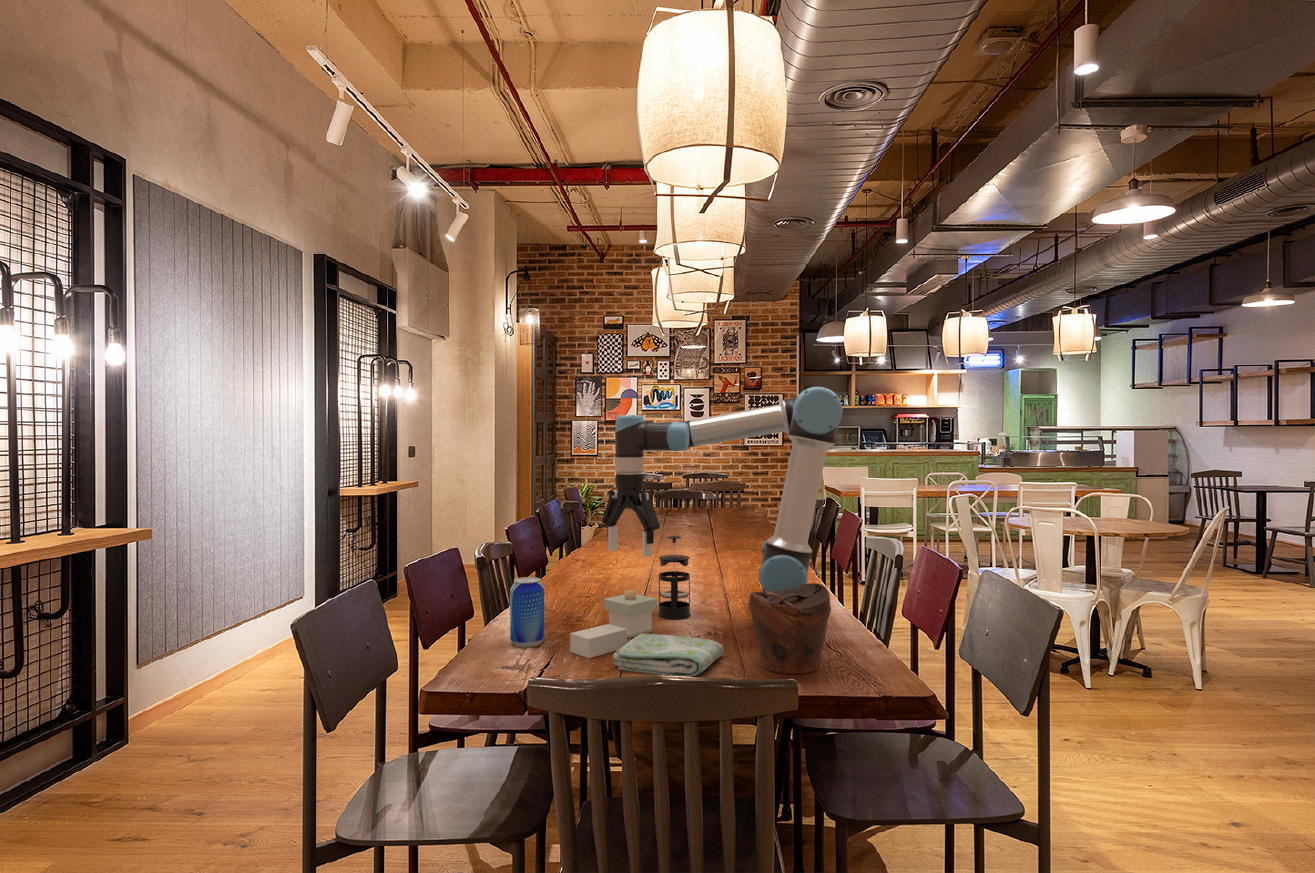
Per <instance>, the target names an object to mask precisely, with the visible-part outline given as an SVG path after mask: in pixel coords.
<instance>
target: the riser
mask: <svg viewBox="0 0 1315 873" xmlns="http://www.w3.org/2000/svg"><path fill="white" fill-rule="evenodd" d="M627 640H628V638H627V629H625V628H621V627H617V626H614V625H610V624H609V623H607V624H603V625H598V626H594V627H591V628H590V627H589V628H585V629H583V630H578V631H574V632H573V631H572V632H570V633H569V646H570V647H569V648H570V650H569V652H570V653H573V654H575V655H578V656H581V657H584V658H587V659H592V658H594V657H598V656H599V657H600V656H603V655H604V654H610V653H612V652H616V651H617V650H619V649H620V648H622V647H623V646H625V645H626V644H627V643H628V641H627Z"/></svg>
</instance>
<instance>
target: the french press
mask: <svg viewBox="0 0 1315 873" xmlns="http://www.w3.org/2000/svg"><path fill="white" fill-rule="evenodd" d="M666 538H667V539H669V540H670V539H671V540H672V541H671V542H672V544H673V554H668V555H667V554H665V555H661V556H660V555H659V556H658V559H659V561H660V562H659V563H660V564H659V565H660V566H661V567H665V566H666V565H667V564H669V563H673V570H671V571H663V572H659V573H658V614H657V616H658V618H661V619H663V620H671V621H676V620H677V621H679V620H684V619H685V620H687V619H689V618H690V617H691V616H692V615H691V590H690V589H691V586H690V585H691V578H690V577H691V574H690V573H689V572H686V571H678V570H676V563H679V564H680V565H682V566H683V567H687V566H689V560H690V559H691V558H690V556H687V555H683V554H682V555H681V554H676V551H675V550H676V546H675V545H676V543H677V542H676V541H677V539H682V536H679V535H668V536H666ZM661 581H662V582H667V583H669V582H670V590H664V591H661ZM686 581H688V592H687V591H684V590H679V582H686ZM661 597H662V598H664V599H668V601H667V600H664V601H662V602H661ZM684 598H685V599H686V598H688V602H687V601H682V600H679V599H684ZM669 599H670V600H669Z"/></svg>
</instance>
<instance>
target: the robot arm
mask: <svg viewBox="0 0 1315 873" xmlns="http://www.w3.org/2000/svg"><path fill="white" fill-rule="evenodd" d="M843 410H844V408H843V403H842V401H841V398H840V397H839V395H837V394H836V393H835V392H834V391H833V390H831V389H829V388H828V387H827V388H826V387H823V386H812V387H808V388H806V389H804V390H803V391H801V392H800V393H799V394H798V395H797V396H795V397H791V398H787V399H783V400H782V401H780V403H778V404H775V405H770V406H768V405H767V406H762V407H758V408H751V409H746V410H740V411H735V412H730V413H724V414H718V415H713V416H707V417H701V418H695V419H690V420H685V421H671V422H670V421H666V422H665V421H662V422H661V421H660V422H647V421H645V420H644V416H643V415H641V414H626V415H625V414H623V415H621V414H620V415H618V416H617V417H616V419H615V428H614V430H615V431H614V435H615V436H614V437H615V438H614V440H615V458H614V459H615V460H614V461H615V464H614V465H615V466H614V468H615V469H614V470H615V472H616V473H617V474H616V475H615V478H614V479H615V489H614V490H609V493H608V494H609V496H608V500H607V504H606V507H605V509H604V511H603V512H604V513H603V516H602V518H601V523H602V524H605V525H606V527H607V530H606V532H607V534H606V535H607V538H608V539H607V540H608V547H607V548H608V549H607V550H608V552H613V551H618V548H619V543H618V542H619V540H618V539H619V533H618V532H619V530H618V527H619V526H618V525H617V522H619V520H620V518H621V516H622V514H623V513H624V511H625V510H626V509H629V510H632V511H633V512H635V514H636V515H637V518H638V520H639V521H640V524H641V525H642V527H643V531H642V558H648V557H653V544H654V540H655V539H654V537H655V536H654V535H655V531H656V530H658V529H661V525H660V523H659V522H660V521H659V520H658V519H659V518H658V517H657V514H656V510H655V507H654V504H653V502H652V494H651V492H650V491H648V492H642V489H643V488H644V486H645V480H644V479H645V475H644V470H645V469H644V468H645V467H644V465H645V464H644V463H645V462H644V461H645V459H644V452H645V451H647V452H649V451H650V452H654V451H656V452H659V451H660V452H679V451H686V450H688V449H689V448H694V447H695V448H696V447H700V446H707V445H713V444H717V443H724V442H730V441H736V440H741V439H747V438H754V437H760V436H761V437H762V436H766V435H772V434H773V435H774V434H778V433H786V434H787V435H788V436H787V437H788V438H789V439H790V441H791V443H792V444H791V445H792V446H791V449H790V450H791V451H790V455H789V461H788V466H787V470H786V473H785V474H786V475H785V479H784V486H783V488H782V489H783V490H782V495H781V500H780V504H779V509H778V514H777V518H776V523H775V527H774V533H773V535H772V536H771V537H769V538H767V539H766V540H765V541H763V542H762V544H761V559H762V560H761V561H762V562H761V567H760V569H759V572H758V578H759V579H758V581H759V583H760V586H761V587H762V588H761V589H762V591H761V592H767V591H772V592H775V591H780V590H784V589H788V588H792V587H797V586H800V585H804V584H808V582H809V578H808V574H809V573H808V572H809V569H810V562H811V558H812V555H813V554H812V552H813V549H812V548H811V546H810V545H809V543H808V541H809V538H810V533H811V528H812V522H813V518H814V513H815V508H816V505H817V504H816V503H817V498H818V494H819V489H820V484H821V479H822V475H823V471H824V466H825V465H824V464H825V460H826V455H827V451H828V449H830V448H832V447H833V446H835V442H836V438H837V433H838V429H839V425H840V422H841V421H842V418H843V412H844V411H843ZM642 472H643V473H642Z"/></svg>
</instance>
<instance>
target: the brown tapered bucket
mask: <svg viewBox="0 0 1315 873" xmlns="http://www.w3.org/2000/svg"><path fill="white" fill-rule="evenodd" d="M830 598H831V595H830V592H829V590H828V588H827V587H826V586H825V585H823V584H821V583H817V582H815V583H814V582H812V583H811V582H810V583H807V584H804V585H800V586H797V587H792V588H788V589H784V590H780V591H775V592H772V591H767V592H762V591H761V592H760V591H752V592H750V594H749V600H748V607H747V608H748V611H750V613H751V618H752V623H753V629H754V633H755V638H756V643H757V647H758V652H759V657H760V658H759V659H760V664H761V667H763V669H765V670H768V671H771V672H775V673H779V674H791V675H792V674H793V675H794V674H795V675H796V674H798V675H799V674H806V673H812V672H814V671H817V670H818V669H819V668H820V665H821V660H822V654H823V649H824V645H825V644H824V643H825V638H826V633H827V627H828V620H829V618H830V615H831V611H832V605H831V599H830Z"/></svg>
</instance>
